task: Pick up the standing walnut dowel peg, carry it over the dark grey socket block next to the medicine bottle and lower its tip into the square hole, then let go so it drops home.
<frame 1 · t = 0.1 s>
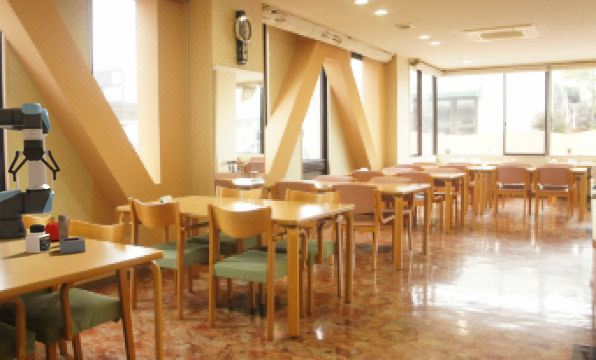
hand: (35, 188, 237), 28 cm above the table, fingers open, 13 cm apart
socket: (72, 250, 242), on the table
medicine bottle: (38, 251, 241), on the table
red bell pepper: (56, 240, 267), on the table
peg: (64, 245, 255), on the table
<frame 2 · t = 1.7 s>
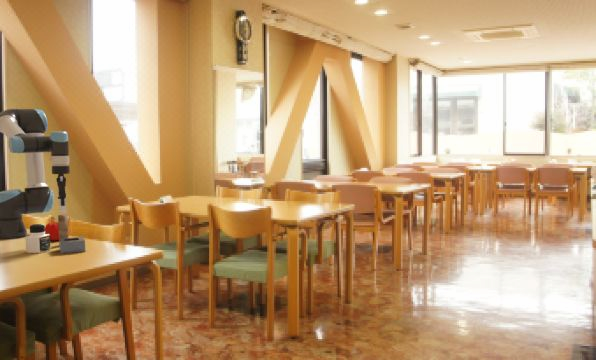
hand: (62, 211, 253), 16 cm above the table, fingers open, 13 cm apart
nothing on the table moved.
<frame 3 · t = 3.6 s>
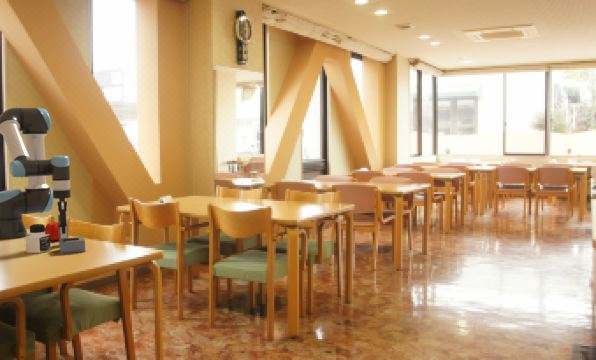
hand: (63, 239, 254), 3 cm above the table, fingers closed on peg, 4 cm apart
peg: (64, 245, 255), on the table, touching gripper
everything else where it was.
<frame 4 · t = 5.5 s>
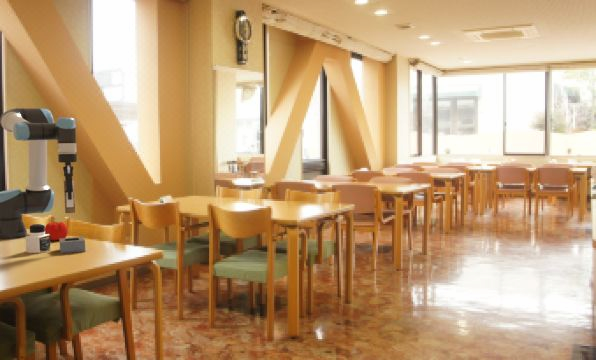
hand: (69, 206, 242), 20 cm above the table, fingers closed on peg, 4 cm apart
peg: (70, 212, 242), point 17 cm above the table, touching gripper
everything else where it was.
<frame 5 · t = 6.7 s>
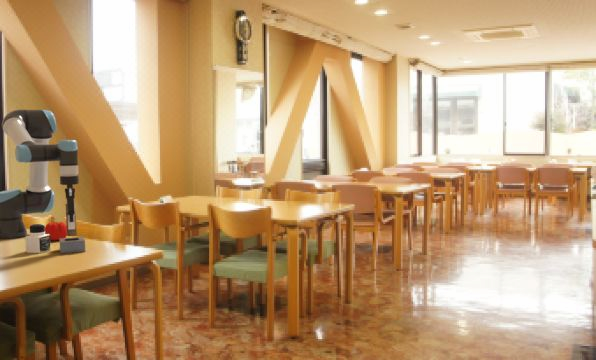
hand: (71, 228, 241), 10 cm above the table, fingers closed on peg, 4 cm apart
peg: (71, 235, 242), point 7 cm above the table, touching gripper
everything else where it was.
when the fingers open (6 cm above the table, at t = 7.6 s): peg drops 2 cm, resting on socket.
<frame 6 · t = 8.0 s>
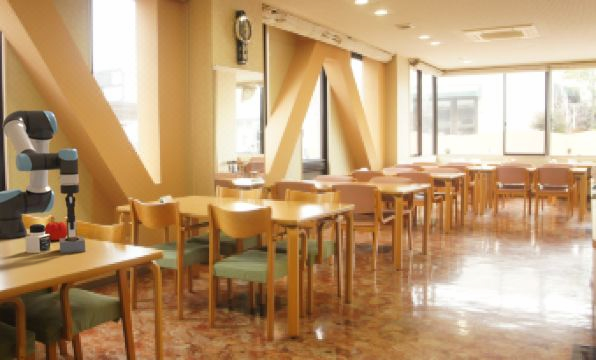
hand: (71, 235, 242), 7 cm above the table, fingers open, 9 cm apart
peg: (72, 249, 242), resting on socket
everything else where it was.
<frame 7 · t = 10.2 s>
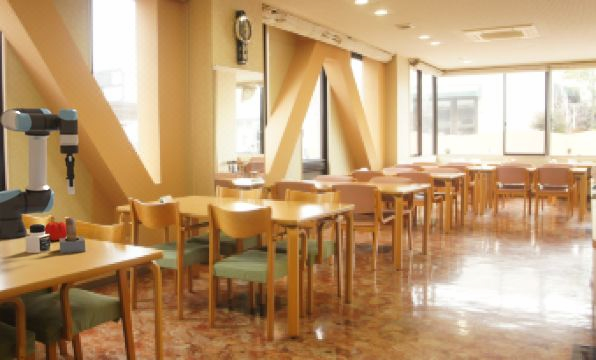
hand: (71, 192, 243), 25 cm above the table, fingers open, 13 cm apart
nothing on the table moved.
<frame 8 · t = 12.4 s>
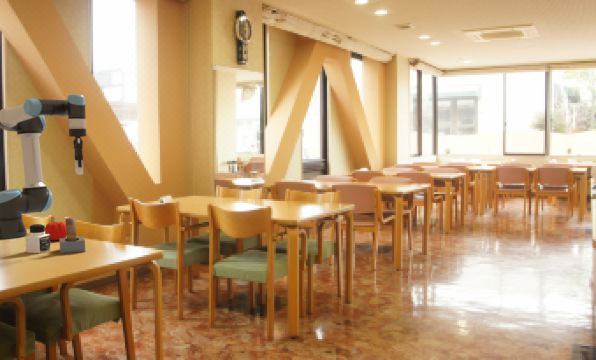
hand: (79, 173, 258), 33 cm above the table, fingers open, 13 cm apart
nothing on the table moved.
at the end: peg 0.1 cm off-centre on the socket, point 0.3 cm above the socket's base; peg tilted 1°; the gripper is holding nothing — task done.
